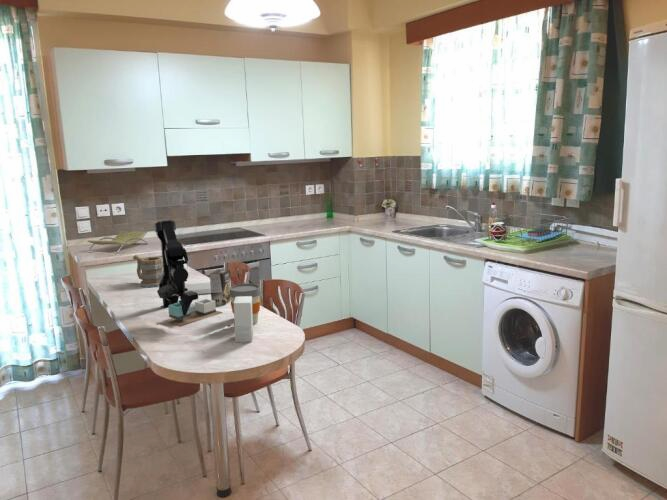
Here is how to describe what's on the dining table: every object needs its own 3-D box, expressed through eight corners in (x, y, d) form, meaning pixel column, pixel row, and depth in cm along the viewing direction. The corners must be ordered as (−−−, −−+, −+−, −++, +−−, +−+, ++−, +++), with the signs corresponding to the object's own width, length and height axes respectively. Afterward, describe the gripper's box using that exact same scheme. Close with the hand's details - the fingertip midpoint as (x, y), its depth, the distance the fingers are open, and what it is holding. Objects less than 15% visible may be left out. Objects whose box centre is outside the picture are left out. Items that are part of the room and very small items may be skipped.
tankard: (171, 283, 283) (168, 255, 280) (151, 288, 273) (149, 260, 270) (146, 278, 294) (144, 252, 291) (126, 284, 283) (124, 256, 280)
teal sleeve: (181, 313, 220) (180, 301, 219) (190, 315, 217) (189, 304, 216) (169, 317, 216) (168, 305, 215) (178, 319, 212) (177, 307, 211)
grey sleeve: (195, 313, 226) (194, 302, 225) (206, 309, 231) (206, 298, 230) (204, 315, 222) (203, 304, 221) (215, 312, 227) (215, 300, 226)
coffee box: (224, 309, 236) (222, 273, 233) (211, 308, 238) (209, 273, 234) (232, 303, 245) (230, 269, 242) (219, 302, 246) (217, 268, 243)
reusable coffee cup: (248, 329, 209) (246, 293, 206) (224, 324, 215) (222, 289, 212) (268, 320, 219) (266, 285, 216) (245, 316, 226) (243, 282, 223)
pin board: (162, 324, 217) (161, 310, 216) (205, 310, 234) (204, 297, 233) (180, 330, 210) (179, 315, 209) (223, 315, 227) (222, 302, 226)
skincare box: (237, 335, 203) (234, 296, 200) (254, 334, 204) (252, 295, 201) (235, 343, 195) (232, 302, 192) (253, 342, 196) (251, 301, 192)
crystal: (226, 280, 271) (177, 284, 265) (226, 277, 264) (176, 280, 259) (227, 295, 268) (178, 298, 263) (227, 291, 262) (177, 295, 256)
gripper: (145, 277, 212) (149, 314, 215) (174, 284, 201) (177, 323, 204) (169, 272, 221) (172, 308, 224) (197, 278, 210) (200, 316, 213)
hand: (179, 313), depth 216 cm, fingers open, 6 cm apart
